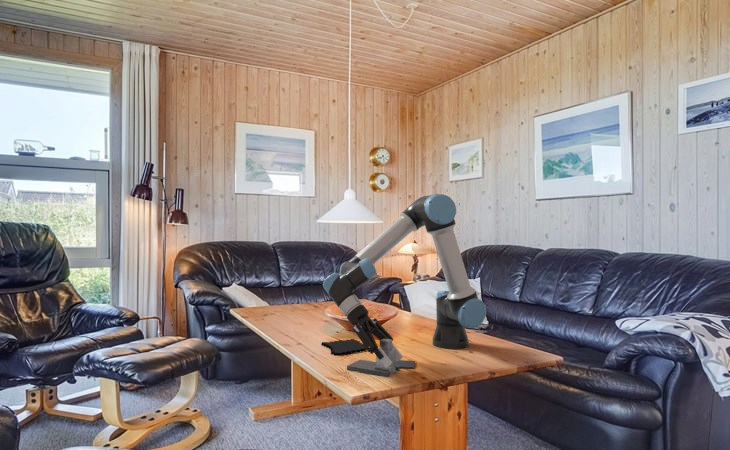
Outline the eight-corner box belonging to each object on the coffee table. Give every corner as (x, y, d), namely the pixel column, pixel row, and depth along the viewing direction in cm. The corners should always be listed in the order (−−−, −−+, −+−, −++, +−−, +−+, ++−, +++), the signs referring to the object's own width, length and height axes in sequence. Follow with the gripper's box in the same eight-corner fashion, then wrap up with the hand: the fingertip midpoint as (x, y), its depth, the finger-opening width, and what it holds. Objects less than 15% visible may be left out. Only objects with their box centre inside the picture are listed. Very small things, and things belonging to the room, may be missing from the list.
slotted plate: (347, 369, 157) (347, 365, 157) (360, 363, 165) (360, 359, 165) (388, 377, 149) (388, 372, 149) (399, 369, 157) (399, 365, 157)
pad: (415, 362, 166) (415, 360, 166) (413, 369, 158) (413, 367, 158) (393, 361, 167) (393, 359, 167) (391, 367, 159) (391, 366, 159)
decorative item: (327, 337, 200) (371, 339, 196) (327, 341, 200) (371, 343, 196) (311, 351, 178) (360, 354, 174) (311, 355, 178) (360, 358, 174)
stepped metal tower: (376, 373, 154) (376, 340, 154) (383, 369, 158) (382, 337, 158) (389, 375, 151) (389, 342, 151) (395, 371, 155) (395, 339, 156)
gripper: (362, 312, 171) (401, 361, 163) (332, 322, 154) (373, 377, 145) (374, 300, 169) (414, 348, 160) (345, 308, 151) (388, 363, 143)
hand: (395, 362), depth 153 cm, fingers open, 8 cm apart
